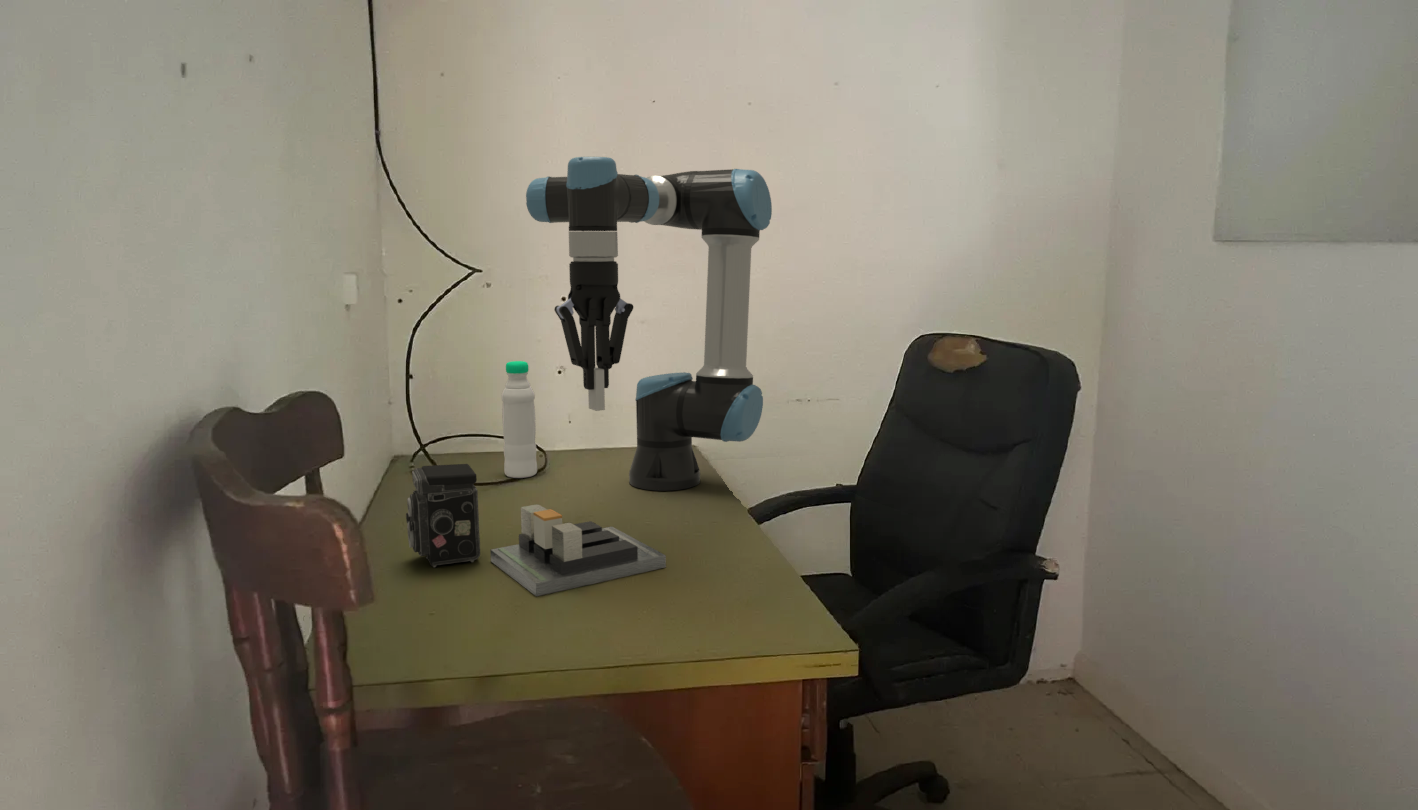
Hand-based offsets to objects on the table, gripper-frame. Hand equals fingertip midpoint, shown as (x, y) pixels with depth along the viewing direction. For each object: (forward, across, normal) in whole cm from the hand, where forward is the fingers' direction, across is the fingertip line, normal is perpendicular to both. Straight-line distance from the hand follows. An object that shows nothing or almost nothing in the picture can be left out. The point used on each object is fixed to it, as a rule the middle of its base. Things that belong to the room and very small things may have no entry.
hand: (596, 409), depth 150 cm
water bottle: (+25, -10, -57) cm, 63 cm away
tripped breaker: (+20, +10, +2) cm, 22 cm away
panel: (+24, +5, +2) cm, 25 cm away
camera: (+25, +22, -12) cm, 35 cm away
